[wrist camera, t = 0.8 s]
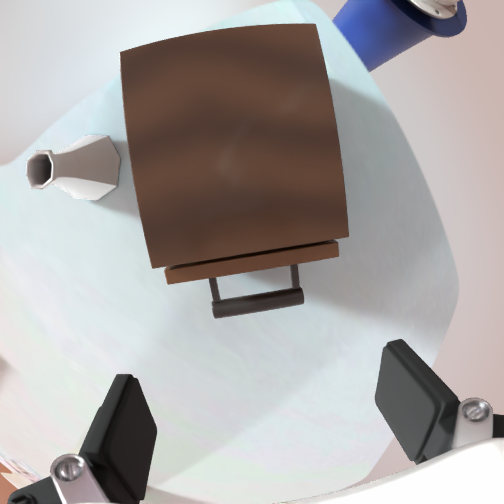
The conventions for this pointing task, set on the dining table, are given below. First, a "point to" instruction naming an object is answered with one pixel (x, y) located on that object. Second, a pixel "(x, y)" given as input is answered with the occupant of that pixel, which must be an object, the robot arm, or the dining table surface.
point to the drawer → (253, 263)
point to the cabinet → (233, 142)
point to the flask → (77, 168)
